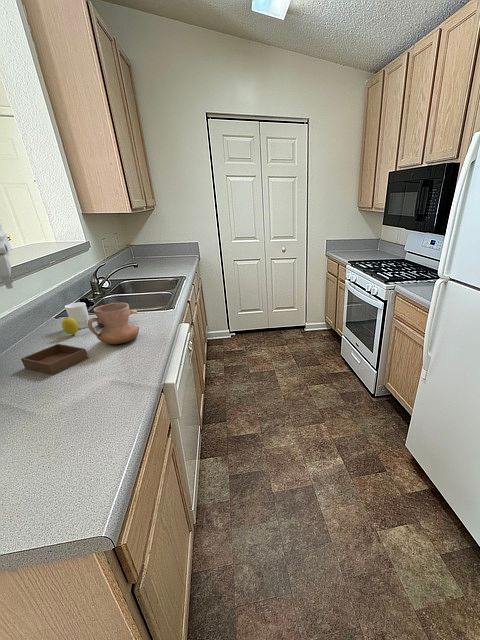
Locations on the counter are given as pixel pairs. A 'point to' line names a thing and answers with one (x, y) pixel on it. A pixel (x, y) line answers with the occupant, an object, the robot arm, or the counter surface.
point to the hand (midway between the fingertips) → (10, 285)
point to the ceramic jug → (114, 323)
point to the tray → (54, 358)
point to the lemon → (69, 326)
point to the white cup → (78, 313)
